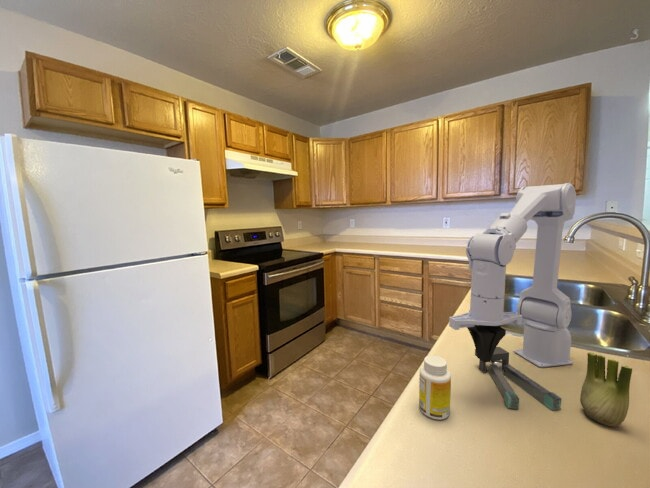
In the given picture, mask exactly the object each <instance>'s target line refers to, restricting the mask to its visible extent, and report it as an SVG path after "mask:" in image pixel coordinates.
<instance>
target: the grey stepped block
mask: <svg viewBox="0 0 650 488" xmlns="http://www.w3.org/2000/svg"><path fill="white" fill-rule="evenodd" d="M474 356H475V357H477V353H476V348H475V349H474ZM496 360H501V361H502V369H504V365H508V364H510V363H509V361H510V352H509V351H507V350H506V349H504V348H503V347H501V346H496V348H495V351H494V353H493V355H492V358H491V361H496ZM478 365H479V366H478V369H479V370H480V371H481V372H482V373H486V371H487V370H486V369H487V362H485V363H484V362H483V361H481V360H480V359H479V364H478Z"/></svg>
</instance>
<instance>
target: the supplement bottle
mask: <svg viewBox="0 0 650 488" xmlns="http://www.w3.org/2000/svg"><path fill="white" fill-rule="evenodd" d="M423 360H424V362H423V365H421V367H420V368H419V379H418V380H419V381H418V383H419V388H418V389H419V390H418V393H419V396H418V406H419V409H420V411H421V413H422V414H423V415H425V416H426V417H427V418H430V419H434V420H445V419H447V418H448V417H449V416H450V414H451V395H452V394H451V392H452V390H451V389H452V388H451V387H452V386H451V385H452V375H451V372H450V370H448V369H447V368H448V367H447V366H448V365H447V361H446V359H445V358H443V357H441V356H438V355H427V356H425V357H424V359H423Z"/></svg>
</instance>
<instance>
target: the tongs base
mask: <svg viewBox="0 0 650 488" xmlns="http://www.w3.org/2000/svg"><path fill="white" fill-rule="evenodd" d="M490 364H493V365H497V366H498V368H499V369H500V371H501V372H502V374H503V375H504V377H505V378H508V379H509V380H510V381H511V382H513V383H514V384H515V385H517V386H518V387H519V388H520V389H522V390H524V391H525V392H526V393H527V394H529V395H530V396H532V398H534V399H536V401H538V402H540V403H541V404H542V405H543V406H545V407H546V408H548V409H549V410H551V412H555V411H561V409H562V408H561V407H562V397H560V395H557V394H556V393H555V392H553V391H550V390H548V389H547V388H545V387H544V386H542V385H541V384H539V383H538V382H536V381H535V380H533V379H532V378H530V377H529V376H528V375H526V374H524V373H523V372H521V371H520V370H518V369H517V368H516V367H515V366H512V365H511V364H510V363H509V364H508V365H504V368H503V367H502V360H496V361H490V362H489V365H490Z"/></svg>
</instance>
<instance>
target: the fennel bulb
mask: <svg viewBox="0 0 650 488" xmlns="http://www.w3.org/2000/svg"><path fill="white" fill-rule="evenodd" d="M586 366H587V367H586V374H585V378H584V381H583V383H582V387H581V391H580V398H579V399H580V405H581V407H582V409H583V411H584V412H585V414H586V415H587V416H588V417H590V418H591V419H592V420H594V421H596V422H598V423H599V424H601V425H604V426H608V427H619V426H620V425H621V424H622V423H623V422H624V421H625V419H626V417H627V415H628V411H629V407H630V384H631V379H632V373H633V368H632V367H630V366H629V365H626V364H621V367H620V371H619V361H618V360H617V359H612V358H608V359H607V364H606V356H605V355H601V354H597V353H594V352H591V351H589V352H587V365H586ZM618 372H619V373H618Z"/></svg>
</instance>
